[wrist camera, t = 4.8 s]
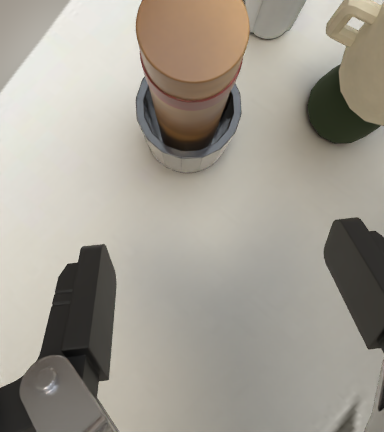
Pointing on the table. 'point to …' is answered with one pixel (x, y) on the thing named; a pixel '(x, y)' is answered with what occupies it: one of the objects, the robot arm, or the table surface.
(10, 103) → the table surface
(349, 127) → the character mug
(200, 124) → the red-banded tan cylinder
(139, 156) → the table surface
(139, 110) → the cup
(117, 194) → the table surface
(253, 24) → the photo printer
